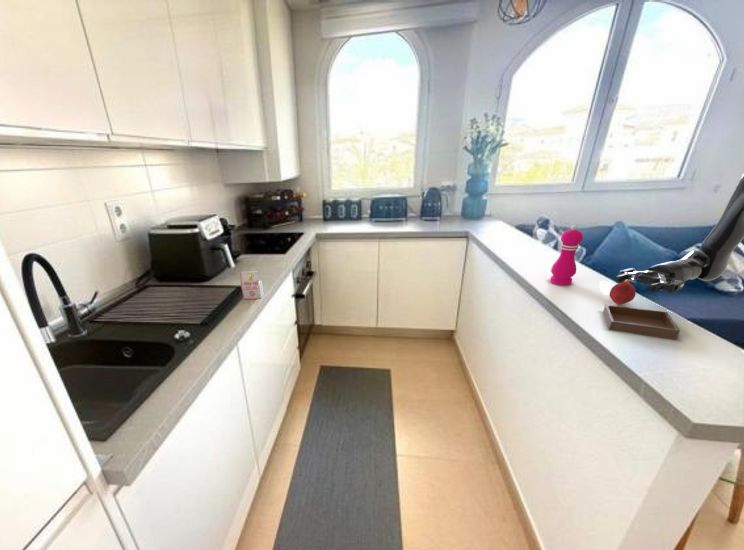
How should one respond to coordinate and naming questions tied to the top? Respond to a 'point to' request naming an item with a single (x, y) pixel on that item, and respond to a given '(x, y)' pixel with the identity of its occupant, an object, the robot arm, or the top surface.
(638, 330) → the serving tray
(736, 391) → the top surface
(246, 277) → the pink carton box
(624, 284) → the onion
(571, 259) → the pepper mill
